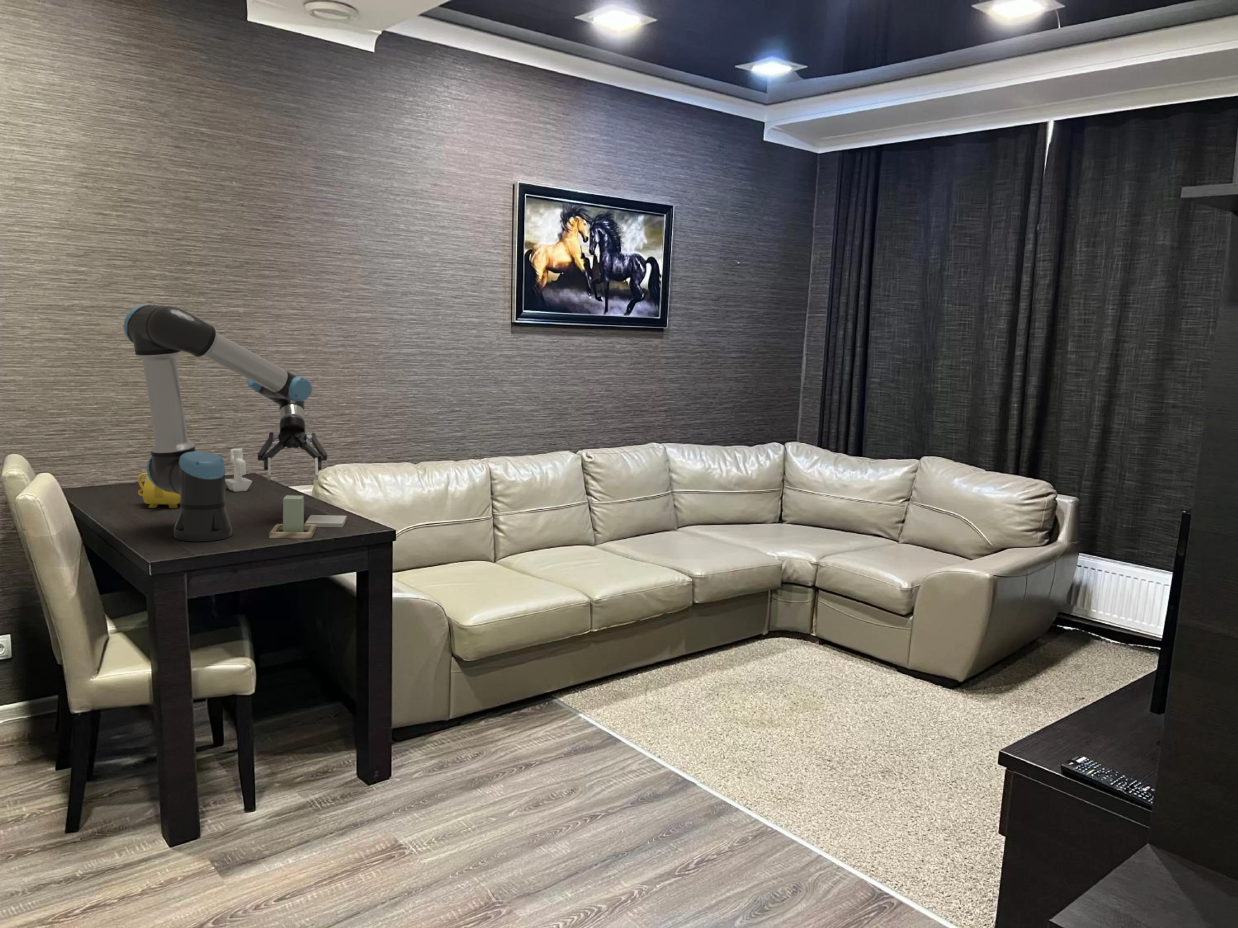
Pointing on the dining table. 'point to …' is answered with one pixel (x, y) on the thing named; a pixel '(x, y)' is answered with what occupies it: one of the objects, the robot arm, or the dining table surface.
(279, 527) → the board
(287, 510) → the sage block
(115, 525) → the dining table surface
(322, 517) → the grey mat
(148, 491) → the teapot
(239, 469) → the figurine
